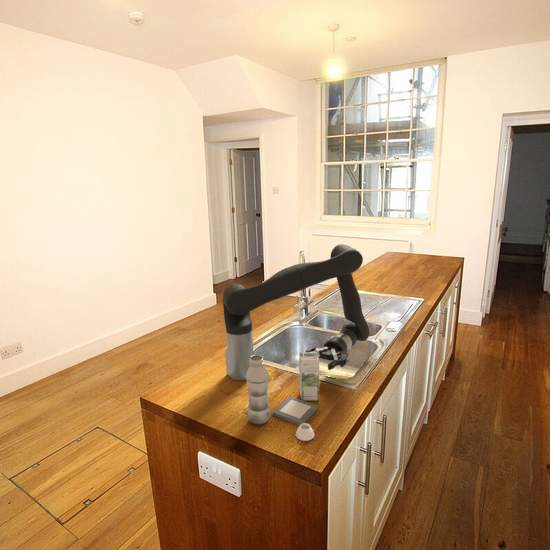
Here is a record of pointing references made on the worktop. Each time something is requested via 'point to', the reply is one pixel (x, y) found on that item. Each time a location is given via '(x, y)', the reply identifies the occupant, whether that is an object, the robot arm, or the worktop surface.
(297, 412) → the plate
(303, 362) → the syrup box
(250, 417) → the plastic bottle
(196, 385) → the worktop surface
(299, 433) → the white jar
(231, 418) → the worktop surface
